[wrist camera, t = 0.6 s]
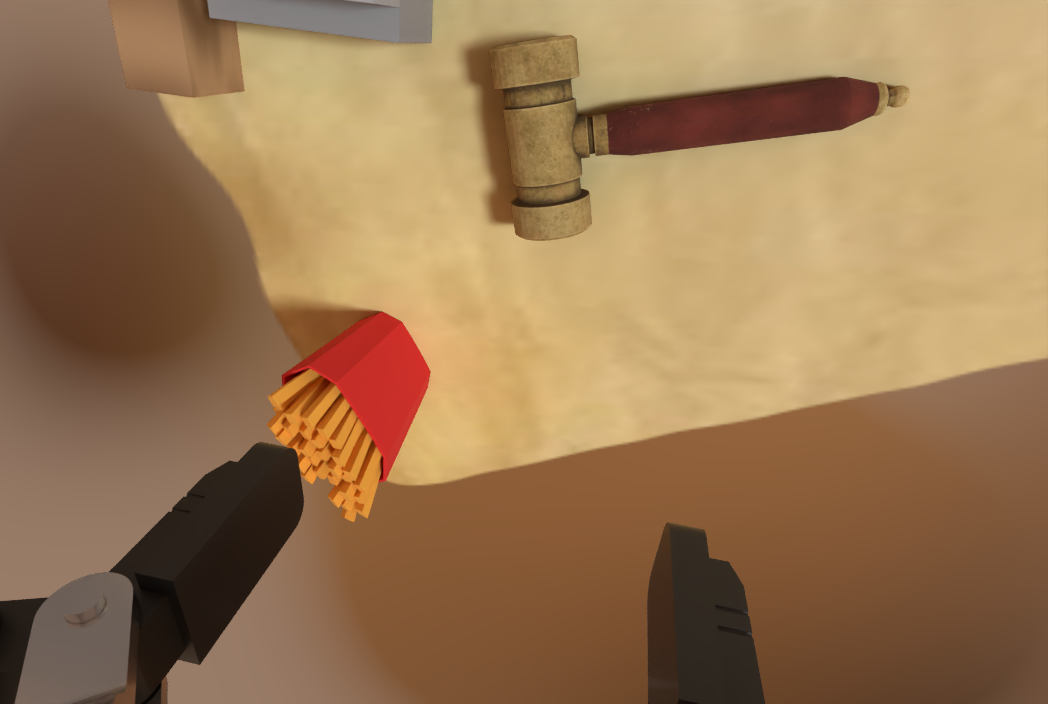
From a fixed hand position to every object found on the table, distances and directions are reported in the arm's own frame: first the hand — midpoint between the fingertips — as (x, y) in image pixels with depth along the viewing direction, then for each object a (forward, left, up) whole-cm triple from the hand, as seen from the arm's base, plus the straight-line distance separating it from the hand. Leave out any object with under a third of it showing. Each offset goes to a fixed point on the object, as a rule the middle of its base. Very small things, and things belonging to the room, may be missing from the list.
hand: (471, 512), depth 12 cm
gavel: (-6, +5, -27) cm, 28 cm away
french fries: (+13, -12, -27) cm, 32 cm away
